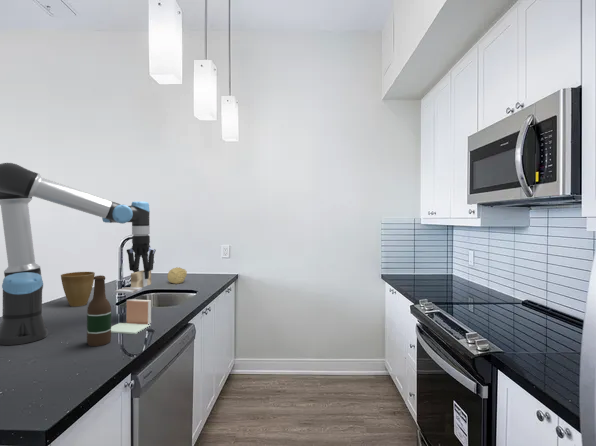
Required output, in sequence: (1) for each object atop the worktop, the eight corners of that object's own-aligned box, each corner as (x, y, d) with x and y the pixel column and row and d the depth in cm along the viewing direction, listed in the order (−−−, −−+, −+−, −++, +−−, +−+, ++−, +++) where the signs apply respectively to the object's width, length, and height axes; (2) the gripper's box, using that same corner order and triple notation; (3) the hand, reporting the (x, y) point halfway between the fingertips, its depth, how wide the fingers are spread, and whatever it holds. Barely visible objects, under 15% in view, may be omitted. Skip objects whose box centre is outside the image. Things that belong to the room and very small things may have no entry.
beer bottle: (83, 347, 128) (84, 278, 128) (89, 340, 135) (90, 274, 135) (108, 345, 130) (109, 277, 130) (113, 338, 138) (113, 274, 137)
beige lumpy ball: (175, 285, 248) (176, 269, 248) (163, 283, 254) (164, 267, 254) (189, 282, 257) (189, 267, 257) (177, 280, 264) (177, 265, 264)
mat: (135, 334, 143) (135, 332, 143) (102, 332, 145) (102, 330, 145) (150, 326, 154) (150, 324, 154) (119, 324, 156) (119, 322, 156)
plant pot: (83, 300, 198) (83, 270, 198) (100, 304, 191) (101, 273, 191) (53, 306, 185) (54, 274, 185) (71, 310, 178) (71, 276, 178)
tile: (147, 325, 155) (148, 301, 155) (125, 323, 157) (126, 300, 157) (150, 323, 158) (151, 300, 158) (129, 322, 159) (129, 299, 159)
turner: (131, 293, 157) (131, 276, 157) (114, 292, 158) (114, 276, 158) (156, 284, 177) (156, 269, 176) (140, 283, 178) (140, 269, 178)
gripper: (161, 234, 173) (161, 284, 174) (129, 234, 176) (130, 284, 176) (152, 235, 166) (153, 288, 166) (120, 235, 168) (120, 287, 169)
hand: (141, 285), depth 171 cm, fingers closed on turner, 3 cm apart
